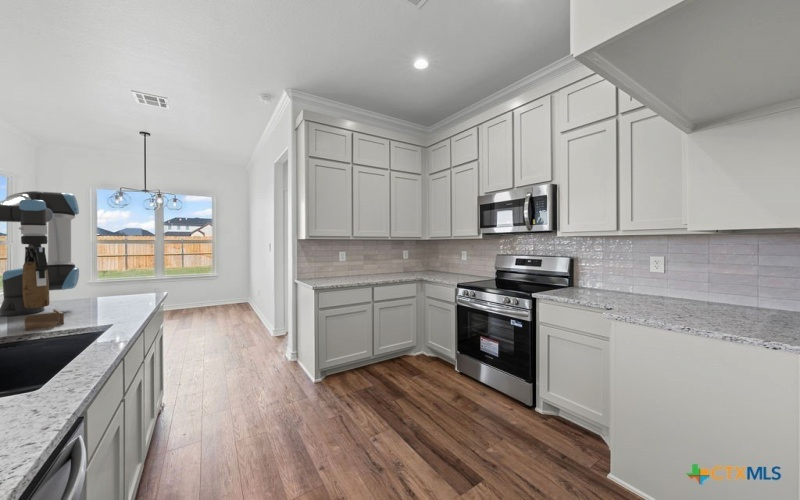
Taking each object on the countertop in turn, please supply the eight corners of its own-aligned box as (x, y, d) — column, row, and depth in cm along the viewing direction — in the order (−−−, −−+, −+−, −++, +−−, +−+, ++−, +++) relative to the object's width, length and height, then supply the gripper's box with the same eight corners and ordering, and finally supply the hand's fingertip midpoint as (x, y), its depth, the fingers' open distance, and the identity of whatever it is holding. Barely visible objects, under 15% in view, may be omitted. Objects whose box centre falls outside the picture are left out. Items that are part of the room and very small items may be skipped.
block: (48, 307, 138) (46, 261, 137) (22, 309, 132) (20, 262, 132) (51, 303, 145) (49, 260, 145) (26, 305, 140) (24, 261, 139)
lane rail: (53, 319, 149) (53, 309, 149) (56, 319, 150) (55, 309, 150) (61, 324, 142) (60, 313, 142) (63, 323, 142) (63, 313, 142)
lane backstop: (25, 330, 133) (24, 316, 132) (56, 325, 140) (55, 312, 140) (25, 330, 132) (25, 316, 132) (57, 325, 139) (56, 312, 139)
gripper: (12, 235, 139) (14, 284, 140) (31, 235, 129) (33, 288, 130) (37, 235, 146) (39, 282, 147) (57, 235, 136) (59, 285, 136)
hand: (36, 284), depth 138 cm, fingers closed on block, 11 cm apart
